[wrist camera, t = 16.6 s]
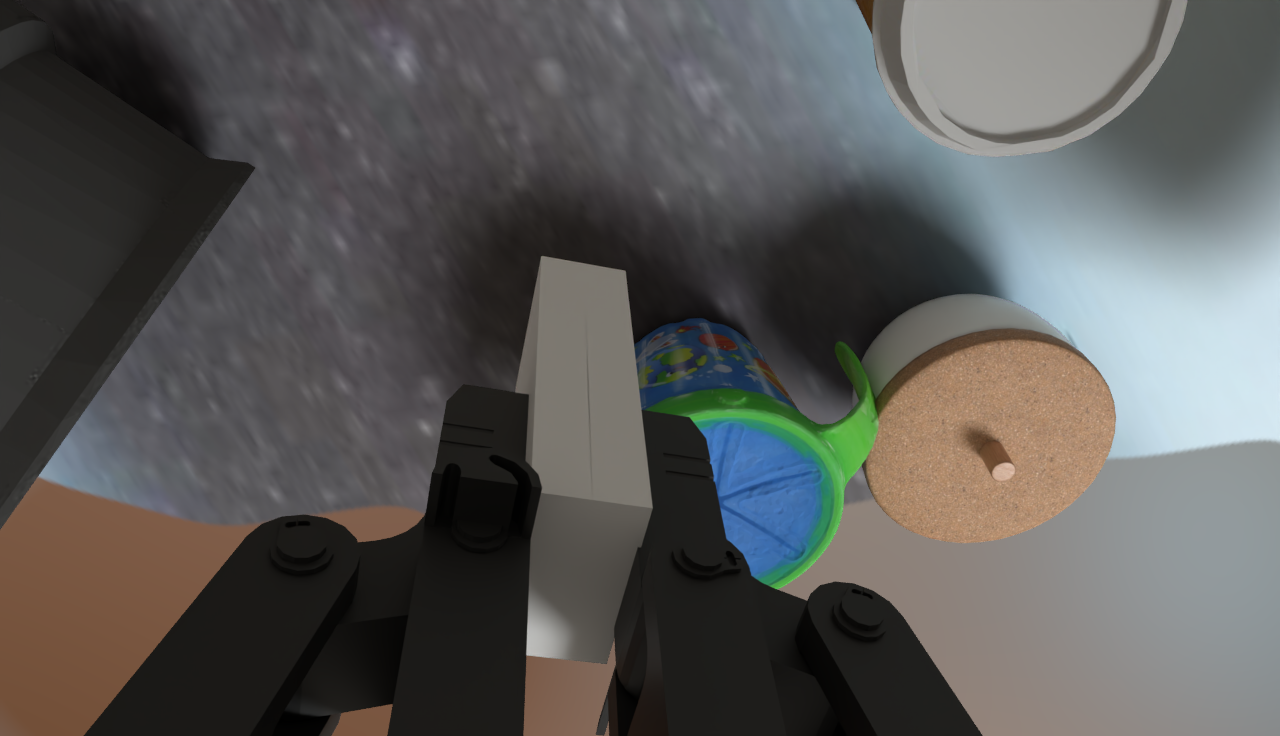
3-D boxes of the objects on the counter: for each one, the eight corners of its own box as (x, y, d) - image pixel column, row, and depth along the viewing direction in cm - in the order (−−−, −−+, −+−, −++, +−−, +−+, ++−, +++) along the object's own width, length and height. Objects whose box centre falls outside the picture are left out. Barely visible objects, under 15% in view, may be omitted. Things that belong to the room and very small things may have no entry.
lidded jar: (975, 468, 54) (1042, 594, 46) (792, 411, 52) (829, 533, 44) (1091, 298, 49) (1189, 406, 41) (894, 226, 47) (957, 326, 39)
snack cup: (576, 507, 54) (583, 655, 45) (496, 346, 48) (487, 479, 40) (864, 413, 52) (929, 548, 44) (815, 235, 47) (878, 349, 38)
